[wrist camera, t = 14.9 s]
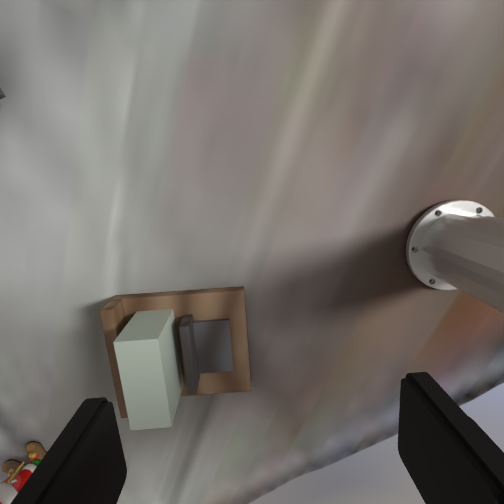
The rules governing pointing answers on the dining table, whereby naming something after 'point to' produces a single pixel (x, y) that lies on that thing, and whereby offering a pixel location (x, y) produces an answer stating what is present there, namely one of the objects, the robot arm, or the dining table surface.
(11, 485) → the santa figurine
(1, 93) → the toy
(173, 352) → the pale green block
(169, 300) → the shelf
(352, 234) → the dining table surface
